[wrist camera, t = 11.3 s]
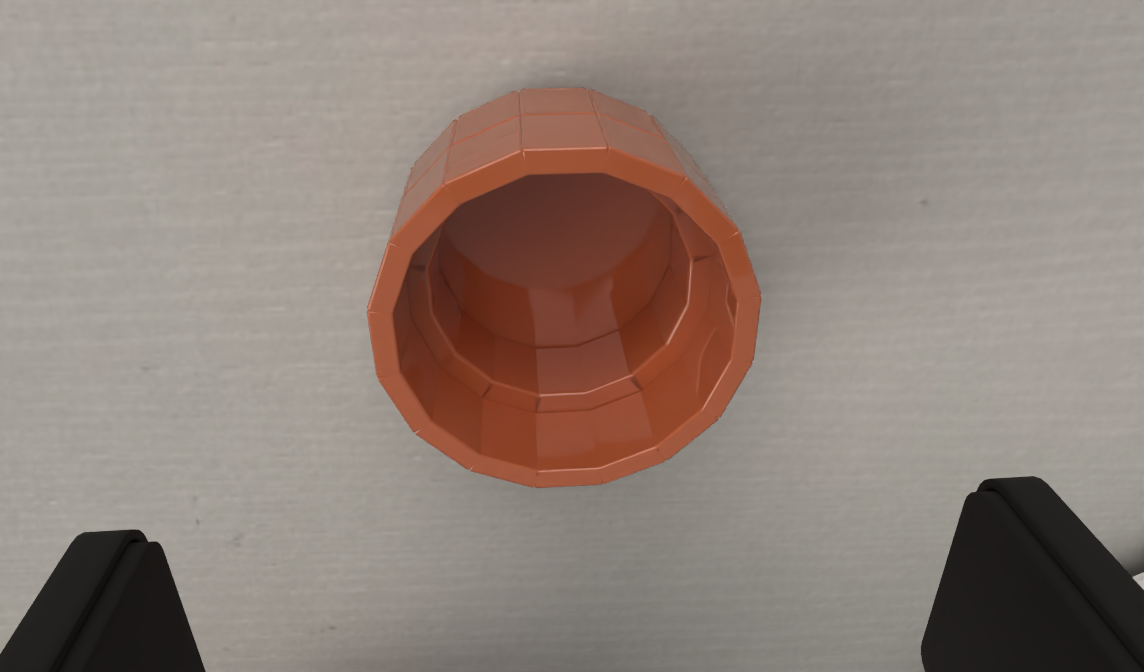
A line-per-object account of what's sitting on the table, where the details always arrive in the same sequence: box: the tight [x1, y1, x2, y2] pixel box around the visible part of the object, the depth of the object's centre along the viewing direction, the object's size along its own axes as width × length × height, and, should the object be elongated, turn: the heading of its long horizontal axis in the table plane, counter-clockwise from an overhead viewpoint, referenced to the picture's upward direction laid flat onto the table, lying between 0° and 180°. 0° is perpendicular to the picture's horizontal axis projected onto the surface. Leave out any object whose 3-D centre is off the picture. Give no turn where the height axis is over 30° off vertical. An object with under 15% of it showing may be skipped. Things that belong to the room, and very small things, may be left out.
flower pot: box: [367, 88, 761, 488], centre depth 16 cm, size 7×7×4 cm
